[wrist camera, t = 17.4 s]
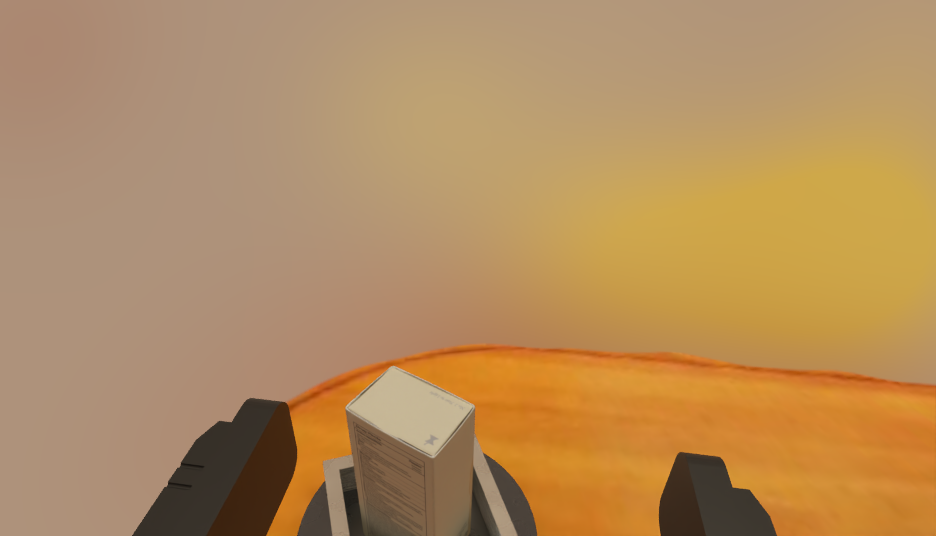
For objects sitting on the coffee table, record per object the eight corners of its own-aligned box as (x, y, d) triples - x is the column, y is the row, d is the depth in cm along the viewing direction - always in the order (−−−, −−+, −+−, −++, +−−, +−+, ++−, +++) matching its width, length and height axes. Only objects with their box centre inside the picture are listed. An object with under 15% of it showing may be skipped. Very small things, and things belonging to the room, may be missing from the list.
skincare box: (472, 532, 37) (482, 405, 30) (433, 589, 34) (436, 461, 27) (398, 486, 40) (394, 360, 33) (356, 534, 37) (342, 406, 30)
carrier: (488, 430, 46) (491, 396, 44) (577, 628, 34) (588, 595, 32) (290, 476, 42) (283, 441, 40) (308, 726, 29) (299, 694, 27)
